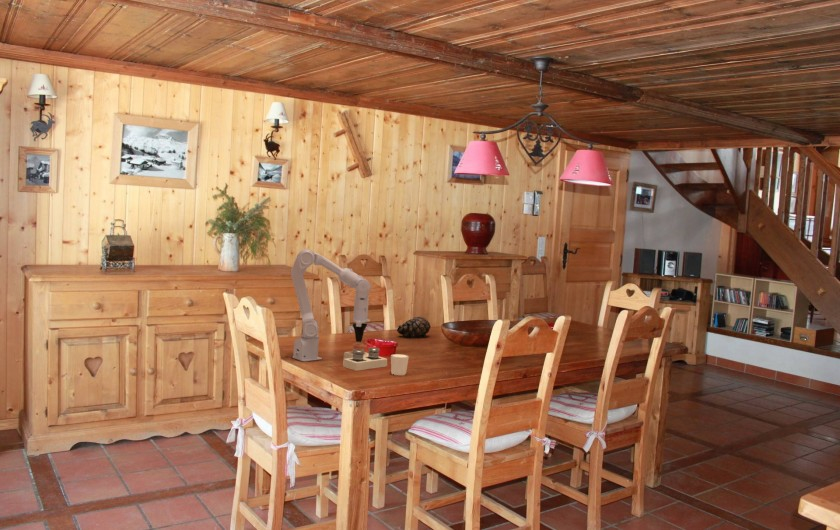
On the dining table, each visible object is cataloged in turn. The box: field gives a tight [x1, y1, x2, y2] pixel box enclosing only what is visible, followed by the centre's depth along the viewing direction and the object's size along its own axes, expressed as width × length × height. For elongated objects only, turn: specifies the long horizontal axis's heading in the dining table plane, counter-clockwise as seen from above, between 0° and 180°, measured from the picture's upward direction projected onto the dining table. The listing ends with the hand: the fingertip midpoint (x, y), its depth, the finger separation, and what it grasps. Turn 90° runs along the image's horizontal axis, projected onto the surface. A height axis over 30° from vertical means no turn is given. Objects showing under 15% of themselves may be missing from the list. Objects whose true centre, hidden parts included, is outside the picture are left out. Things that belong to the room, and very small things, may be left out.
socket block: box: [342, 350, 388, 372], centre depth 285 cm, size 16×18×3 cm
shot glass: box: [390, 353, 409, 376], centre depth 274 cm, size 7×7×7 cm
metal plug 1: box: [352, 348, 365, 362], centre depth 278 cm, size 5×5×4 cm
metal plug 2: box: [367, 346, 381, 360], centre depth 284 cm, size 5×5×4 cm
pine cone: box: [396, 316, 431, 340], centre depth 353 cm, size 10×18×10 cm, turn 137°
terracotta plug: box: [352, 342, 365, 350], centre depth 291 cm, size 5×5×4 cm
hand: (358, 341), depth 291 cm, fingers closed
